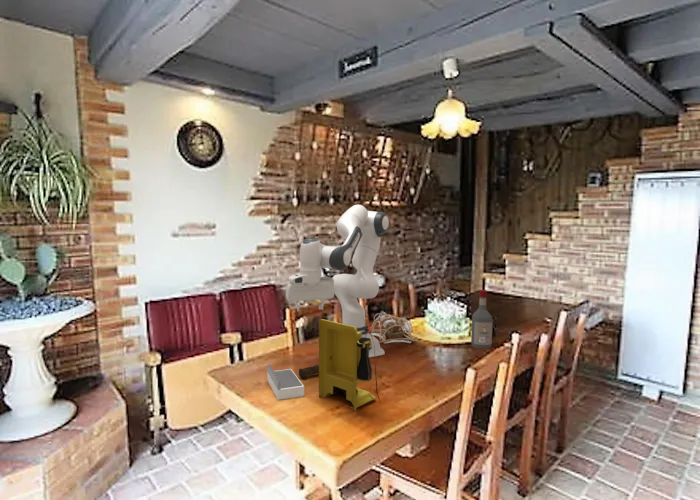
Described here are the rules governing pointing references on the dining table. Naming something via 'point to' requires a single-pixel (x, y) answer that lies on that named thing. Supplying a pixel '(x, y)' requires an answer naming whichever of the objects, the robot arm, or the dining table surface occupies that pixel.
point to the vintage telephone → (344, 362)
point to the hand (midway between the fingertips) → (310, 310)
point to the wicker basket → (392, 328)
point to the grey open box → (284, 383)
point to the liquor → (482, 324)
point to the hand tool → (308, 371)
